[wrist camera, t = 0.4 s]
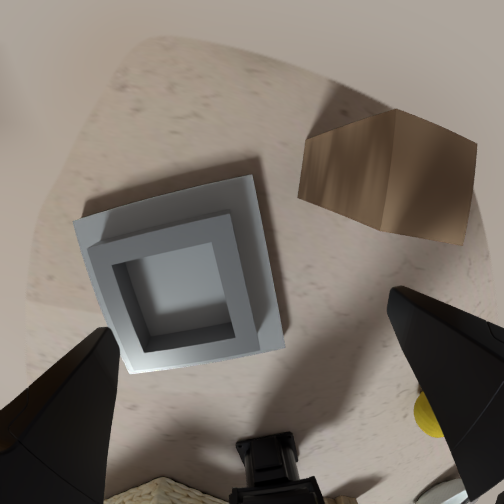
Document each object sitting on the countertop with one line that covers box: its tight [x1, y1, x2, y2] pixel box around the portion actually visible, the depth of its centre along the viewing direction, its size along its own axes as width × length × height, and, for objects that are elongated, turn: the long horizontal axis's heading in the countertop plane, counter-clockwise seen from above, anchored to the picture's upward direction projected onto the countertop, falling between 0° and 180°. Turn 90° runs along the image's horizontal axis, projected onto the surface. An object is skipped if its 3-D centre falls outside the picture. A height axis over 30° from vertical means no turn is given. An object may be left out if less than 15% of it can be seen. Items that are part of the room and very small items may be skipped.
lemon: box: [414, 391, 444, 438], centre depth 26 cm, size 6×6×8 cm
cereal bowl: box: [415, 479, 468, 504], centre depth 38 cm, size 17×17×7 cm
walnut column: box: [298, 109, 477, 246], centre depth 16 cm, size 4×4×13 cm
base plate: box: [73, 175, 285, 374], centre depth 21 cm, size 14×14×4 cm
